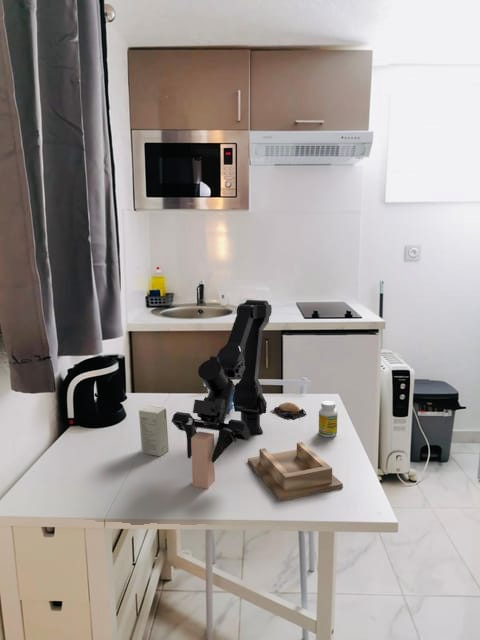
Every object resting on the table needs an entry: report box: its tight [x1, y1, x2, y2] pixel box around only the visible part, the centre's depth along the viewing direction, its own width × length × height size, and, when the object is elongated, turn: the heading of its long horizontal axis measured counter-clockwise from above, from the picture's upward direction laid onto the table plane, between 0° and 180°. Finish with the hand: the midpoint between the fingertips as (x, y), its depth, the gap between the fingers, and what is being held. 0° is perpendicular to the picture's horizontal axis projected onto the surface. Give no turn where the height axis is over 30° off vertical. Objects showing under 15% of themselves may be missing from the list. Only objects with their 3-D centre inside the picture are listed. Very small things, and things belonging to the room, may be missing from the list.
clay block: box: [191, 431, 216, 490], centre depth 117 cm, size 4×4×12 cm
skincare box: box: [138, 405, 170, 457], centre depth 134 cm, size 6×4×12 cm
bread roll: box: [269, 402, 308, 421], centre depth 162 cm, size 11×8×4 cm
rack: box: [247, 441, 344, 502], centre depth 122 cm, size 20×16×4 cm
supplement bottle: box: [318, 400, 338, 438], centre depth 145 cm, size 5×5×10 cm
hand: (200, 459), depth 116 cm, fingers open, 6 cm apart
